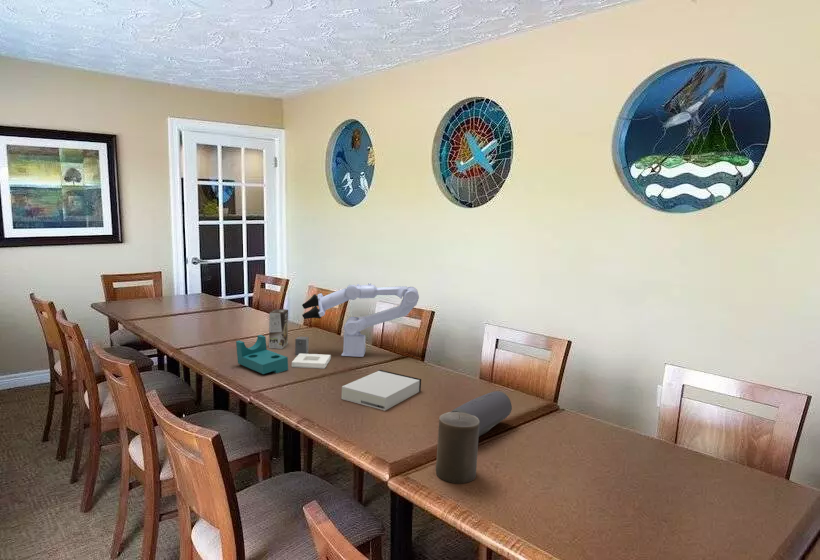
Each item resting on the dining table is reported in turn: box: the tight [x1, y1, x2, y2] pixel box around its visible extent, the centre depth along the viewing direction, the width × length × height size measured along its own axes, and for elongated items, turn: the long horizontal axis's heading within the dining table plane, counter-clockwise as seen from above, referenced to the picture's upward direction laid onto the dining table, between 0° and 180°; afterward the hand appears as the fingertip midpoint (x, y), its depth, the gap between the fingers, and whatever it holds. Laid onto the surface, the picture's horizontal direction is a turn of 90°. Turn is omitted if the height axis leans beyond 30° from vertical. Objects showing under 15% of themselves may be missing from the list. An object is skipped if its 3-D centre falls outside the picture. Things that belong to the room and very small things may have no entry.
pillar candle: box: [435, 411, 480, 485], centre depth 125 cm, size 10×10×15 cm
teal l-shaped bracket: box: [235, 334, 289, 375], centre depth 202 cm, size 18×11×10 cm, turn 47°
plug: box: [294, 336, 310, 356], centre depth 224 cm, size 5×6×7 cm
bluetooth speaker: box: [450, 390, 513, 437], centre depth 150 cm, size 23×9×10 cm, turn 141°
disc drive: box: [340, 369, 422, 412], centre depth 178 cm, size 18×22×5 cm
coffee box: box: [268, 308, 289, 350], centre depth 235 cm, size 9×6×16 cm
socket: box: [291, 353, 332, 370], centre depth 212 cm, size 13×13×2 cm
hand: (303, 311), depth 225 cm, fingers open, 7 cm apart
